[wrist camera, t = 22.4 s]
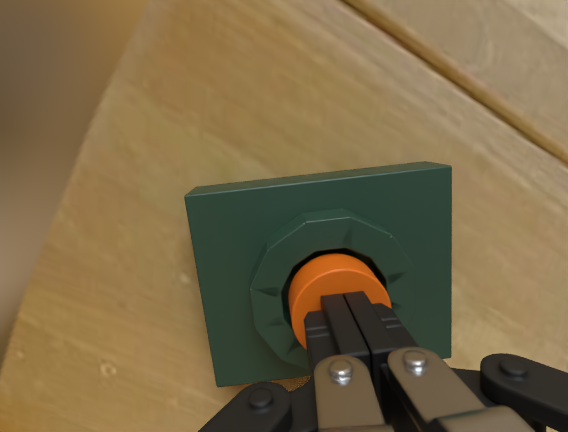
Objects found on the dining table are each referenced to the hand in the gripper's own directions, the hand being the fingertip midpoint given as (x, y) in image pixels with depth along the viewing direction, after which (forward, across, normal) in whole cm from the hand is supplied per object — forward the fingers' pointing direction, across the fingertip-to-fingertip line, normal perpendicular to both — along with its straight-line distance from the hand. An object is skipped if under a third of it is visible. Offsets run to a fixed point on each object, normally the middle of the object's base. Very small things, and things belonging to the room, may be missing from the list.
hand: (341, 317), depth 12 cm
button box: (+6, 0, 0) cm, 6 cm away
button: (+2, 0, 0) cm, 2 cm away
